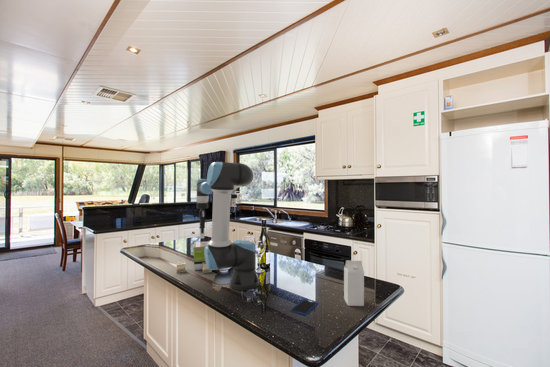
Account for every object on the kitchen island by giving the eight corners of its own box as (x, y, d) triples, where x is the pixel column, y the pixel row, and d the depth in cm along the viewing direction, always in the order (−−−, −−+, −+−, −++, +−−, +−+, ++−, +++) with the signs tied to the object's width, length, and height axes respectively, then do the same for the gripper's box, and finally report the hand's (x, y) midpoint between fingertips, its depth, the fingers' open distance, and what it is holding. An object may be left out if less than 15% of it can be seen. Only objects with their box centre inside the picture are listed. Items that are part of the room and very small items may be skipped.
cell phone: (318, 304, 116) (318, 302, 116) (305, 317, 104) (305, 315, 104) (304, 300, 119) (304, 298, 119) (289, 312, 108) (289, 310, 108)
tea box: (193, 263, 175) (194, 241, 175) (208, 262, 178) (209, 240, 178) (193, 270, 160) (193, 246, 161) (210, 268, 163) (210, 245, 164)
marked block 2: (211, 272, 157) (211, 263, 157) (203, 273, 155) (203, 264, 156) (210, 269, 162) (210, 261, 162) (202, 270, 160) (202, 262, 160)
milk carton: (343, 299, 120) (344, 258, 120) (359, 299, 120) (359, 258, 120) (347, 306, 113) (347, 262, 113) (364, 306, 113) (364, 263, 113)
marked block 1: (185, 271, 157) (185, 263, 157) (176, 272, 156) (176, 264, 156) (185, 269, 162) (185, 261, 162) (176, 270, 160) (176, 262, 160)
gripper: (209, 202, 165) (209, 239, 165) (207, 201, 177) (206, 236, 177) (197, 203, 162) (196, 240, 162) (195, 201, 175) (195, 236, 174)
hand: (202, 238), depth 169 cm, fingers closed
